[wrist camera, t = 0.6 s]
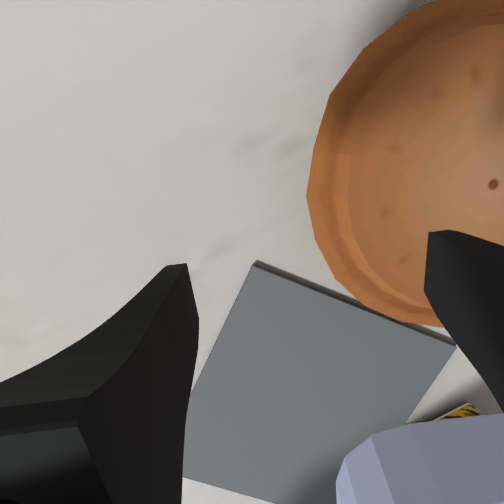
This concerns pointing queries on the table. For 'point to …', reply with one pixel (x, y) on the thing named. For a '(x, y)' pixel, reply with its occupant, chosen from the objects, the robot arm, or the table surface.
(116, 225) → the table surface
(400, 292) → the pie
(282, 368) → the charcoal mat
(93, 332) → the robot arm
